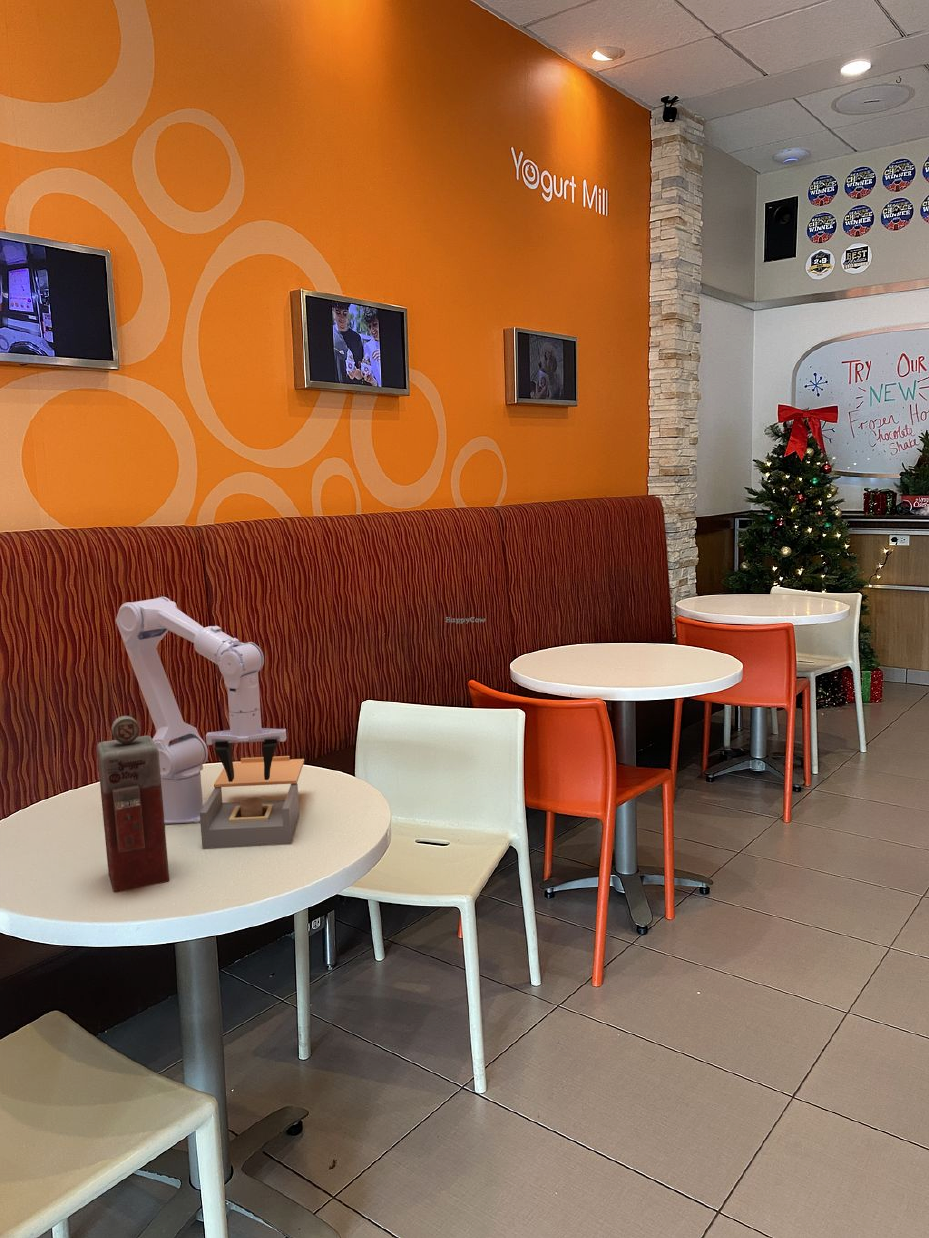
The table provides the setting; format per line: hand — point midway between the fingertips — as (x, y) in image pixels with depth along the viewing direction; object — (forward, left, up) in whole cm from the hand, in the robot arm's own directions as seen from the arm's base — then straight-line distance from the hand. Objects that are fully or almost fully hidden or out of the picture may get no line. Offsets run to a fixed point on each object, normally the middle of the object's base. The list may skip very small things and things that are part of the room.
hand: (249, 779), depth 176 cm
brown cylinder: (0, 0, -10) cm, 10 cm away
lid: (0, +13, -3) cm, 13 cm away
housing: (0, 0, -10) cm, 10 cm away
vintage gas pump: (-16, -19, -11) cm, 27 cm away
